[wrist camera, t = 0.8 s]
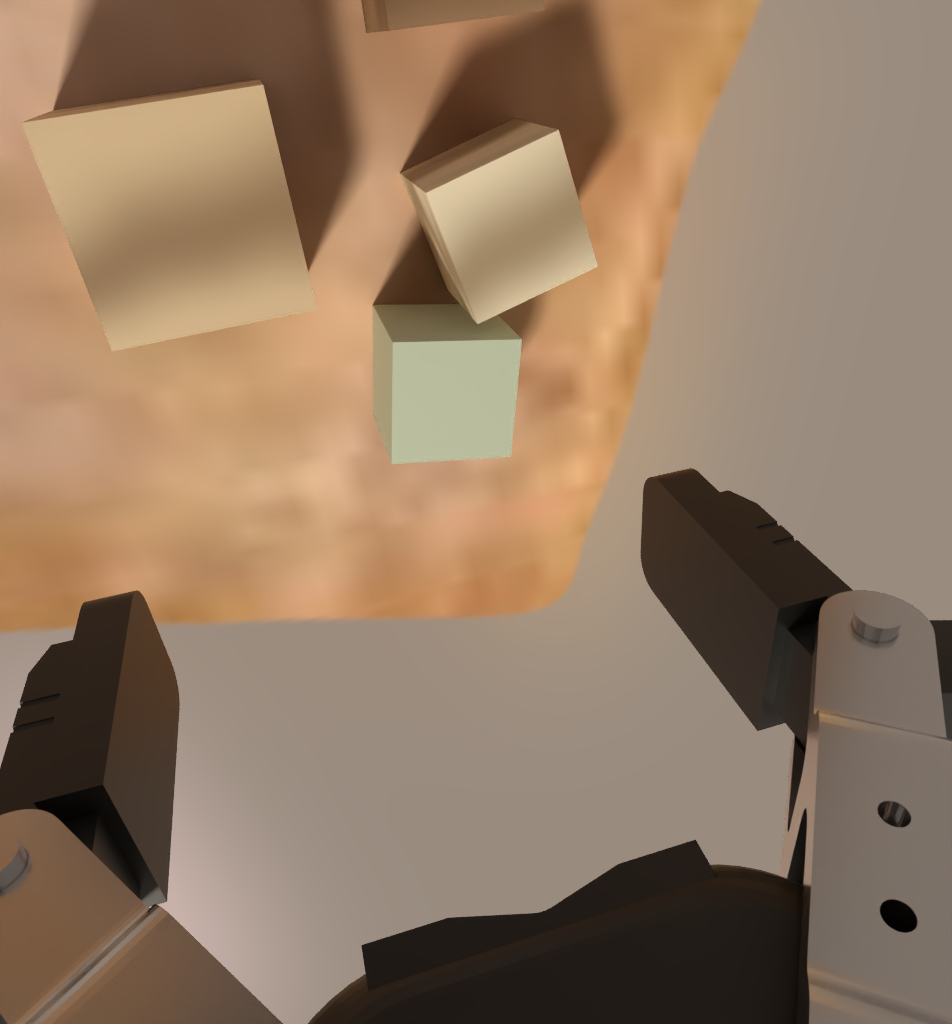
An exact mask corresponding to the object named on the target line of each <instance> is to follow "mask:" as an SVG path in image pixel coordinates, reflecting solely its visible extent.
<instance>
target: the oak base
mask: <svg viewBox="0 0 952 1024" xmlns="http://www.w3.org/2000/svg"><path fill="white" fill-rule="evenodd" d="M21 124H22V127H23V129H24V132H25V134H26V137H27V139H28V142H29V144H30V147H31V149H32V152H33V154H34V157H35V159H36V162H37V164H38V167H39V169H40V172H41V174H42V177H43V179H44V182H45V184H46V187H47V189H48V192H49V194H50V197H51V199H52V202H53V204H54V207H55V209H56V212H57V214H58V217H59V219H60V222H61V225H62V227H63V230H64V232H65V235H66V237H67V240H68V242H69V245H70V247H71V250H72V252H73V255H74V257H75V260H76V262H77V265H78V267H79V270H80V272H81V275H82V277H83V280H84V282H85V285H86V287H87V290H88V292H89V295H90V297H91V300H92V302H93V305H94V307H95V310H96V312H97V315H98V317H99V320H100V322H101V325H102V327H103V330H104V332H105V335H106V337H107V340H108V342H109V345H110V347H111V350H112V351H117V350H122V349H126V348H131V347H136V346H141V345H146V344H151V343H156V342H161V341H166V340H171V339H175V338H180V337H185V336H190V335H195V334H200V333H205V332H210V331H215V330H220V329H224V328H229V327H234V326H239V325H244V324H249V323H254V322H259V321H264V320H269V319H273V318H278V317H283V316H288V315H293V314H298V313H303V312H308V311H313V310H317V306H316V302H315V298H314V294H313V290H312V286H311V281H310V277H309V273H308V269H307V265H306V261H305V256H304V252H303V248H302V244H301V240H300V236H299V232H298V227H297V223H296V219H295V215H294V211H293V207H292V202H291V198H290V194H289V190H288V186H287V182H286V177H285V173H284V169H283V165H282V161H281V157H280V152H279V148H278V144H277V140H276V136H275V132H274V127H273V123H272V119H271V115H270V111H269V107H268V103H267V98H266V94H265V90H264V86H263V84H262V82H261V81H260V79H252V80H246V81H239V82H233V83H227V84H220V85H214V86H207V87H201V88H195V89H188V90H182V91H175V92H169V93H163V94H156V95H150V96H143V97H137V98H131V99H124V100H118V101H111V102H105V103H99V104H92V105H86V106H79V107H73V108H67V109H60V110H54V111H51V112H48V113H45V114H43V115H40V116H38V117H35V118H32V119H30V120H27V121H24V122H22V123H21Z"/></svg>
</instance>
